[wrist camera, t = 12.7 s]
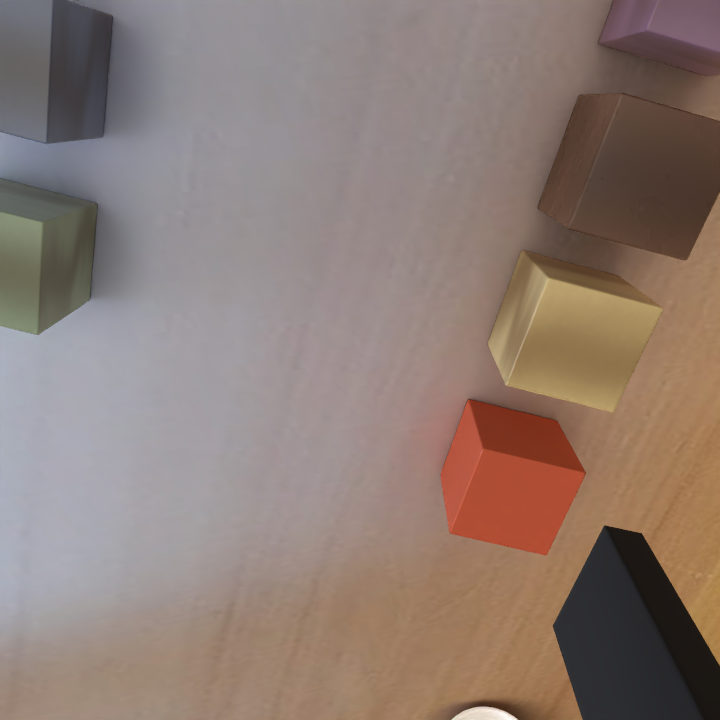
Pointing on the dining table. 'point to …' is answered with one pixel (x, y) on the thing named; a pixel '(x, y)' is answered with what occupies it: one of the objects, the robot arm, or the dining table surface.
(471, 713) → the spread jar
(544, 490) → the block
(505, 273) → the dining table surface
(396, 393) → the dining table surface
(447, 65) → the dining table surface
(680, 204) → the row of colored cubes
